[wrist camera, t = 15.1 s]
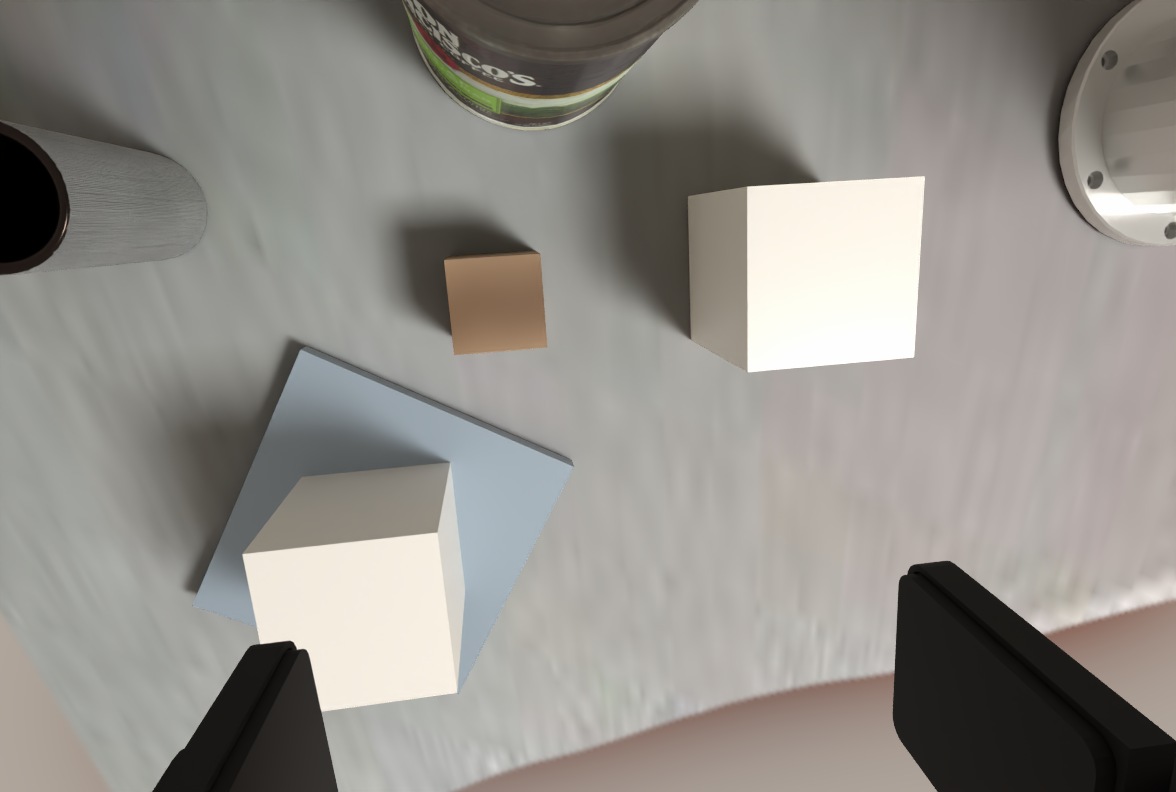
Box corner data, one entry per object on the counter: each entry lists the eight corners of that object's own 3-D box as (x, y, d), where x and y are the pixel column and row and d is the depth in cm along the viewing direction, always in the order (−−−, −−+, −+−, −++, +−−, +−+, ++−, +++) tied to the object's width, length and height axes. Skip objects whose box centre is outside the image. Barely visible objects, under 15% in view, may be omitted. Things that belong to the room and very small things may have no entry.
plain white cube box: (687, 196, 33) (747, 186, 25) (825, 188, 34) (924, 176, 26) (690, 339, 35) (747, 372, 27) (822, 328, 35) (914, 357, 28)
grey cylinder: (147, 279, 31) (-20, 305, 21) (72, 190, 29) (-144, 171, 19) (231, 223, 30) (103, 221, 20) (159, 131, 29) (-14, 82, 19)
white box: (301, 476, 33) (242, 554, 25) (450, 462, 33) (437, 532, 26) (324, 607, 34) (275, 718, 27) (465, 590, 35) (457, 692, 27)
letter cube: (449, 256, 32) (443, 260, 28) (534, 250, 33) (540, 253, 29) (459, 343, 33) (454, 358, 29) (541, 336, 34) (547, 350, 30)
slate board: (571, 460, 35) (574, 466, 34) (459, 682, 37) (458, 694, 36) (306, 345, 32) (300, 349, 31) (200, 595, 34) (192, 605, 33)
